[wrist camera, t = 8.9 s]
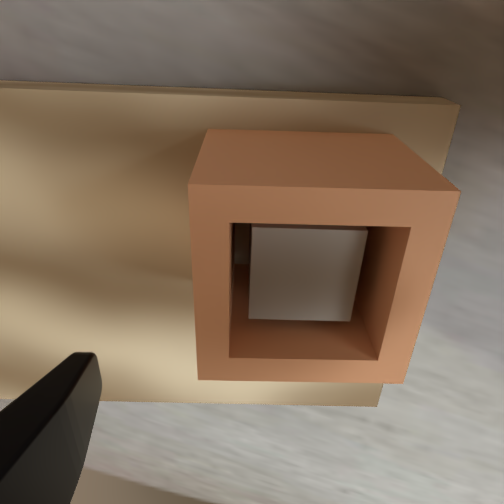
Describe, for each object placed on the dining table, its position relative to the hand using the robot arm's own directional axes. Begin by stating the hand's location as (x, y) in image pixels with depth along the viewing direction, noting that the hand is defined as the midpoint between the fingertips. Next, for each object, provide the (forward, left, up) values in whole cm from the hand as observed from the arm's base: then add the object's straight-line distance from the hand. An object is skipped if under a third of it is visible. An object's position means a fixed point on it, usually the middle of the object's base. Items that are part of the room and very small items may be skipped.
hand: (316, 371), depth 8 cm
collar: (0, 0, -7) cm, 7 cm away
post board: (+3, -5, -9) cm, 11 cm away
